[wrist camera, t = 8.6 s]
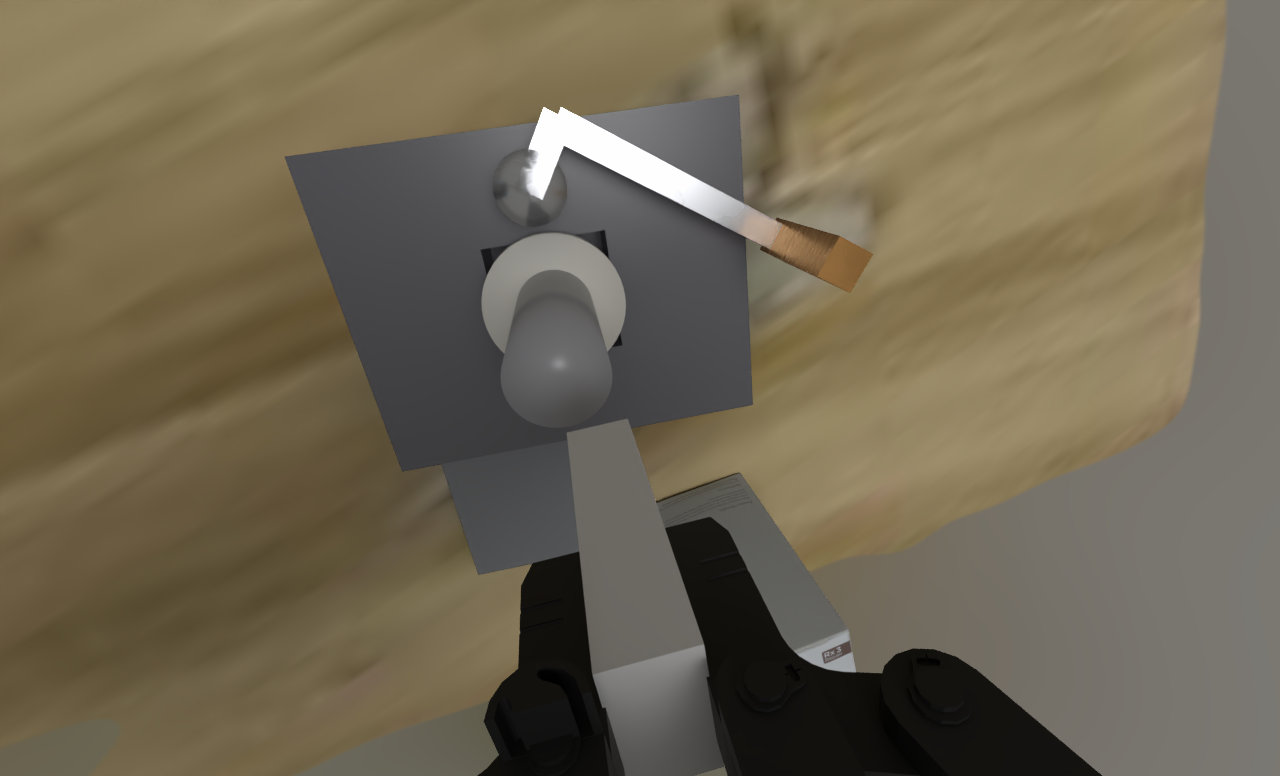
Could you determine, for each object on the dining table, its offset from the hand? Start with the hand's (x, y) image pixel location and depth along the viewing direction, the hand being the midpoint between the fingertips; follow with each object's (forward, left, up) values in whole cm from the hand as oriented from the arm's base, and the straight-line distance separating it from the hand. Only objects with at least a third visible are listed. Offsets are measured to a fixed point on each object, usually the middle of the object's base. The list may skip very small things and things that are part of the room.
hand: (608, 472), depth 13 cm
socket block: (-1, +1, -20) cm, 20 cm away
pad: (-5, -13, -20) cm, 24 cm away
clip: (+4, +4, -14) cm, 15 cm away
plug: (-1, +1, -19) cm, 19 cm away
